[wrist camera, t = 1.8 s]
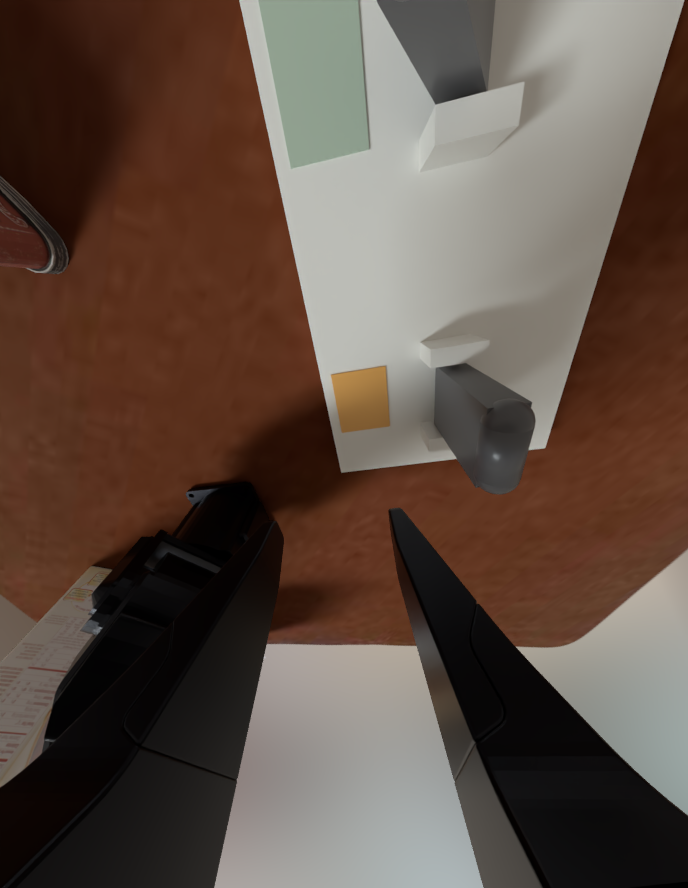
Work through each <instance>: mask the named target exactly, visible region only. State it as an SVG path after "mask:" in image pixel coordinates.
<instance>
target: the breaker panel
mask: <svg viewBox="0 0 688 888" xmlns="http://www.w3.org/2000/svg"><path fill="white" fill-rule="evenodd" d="M239 1H240V5H241V10H242V15H243V19H244V24H245V29H246V33H247V38H248V42H249V47H250V52H251V56H252V61H253V66H254V70H255V75H256V80H257V84H258V89H259V93H260V98H261V103H262V107H263V112H264V117H265V121H266V126H267V131H268V135H269V140H270V144H271V149H272V154H273V158H274V163H275V168H276V172H277V177H278V182H279V186H280V191H281V196H282V200H283V205H284V209H285V214H286V219H287V223H288V228H289V233H290V237H291V242H292V247H293V251H294V256H295V260H296V265H297V270H298V274H299V279H300V284H301V288H302V293H303V298H304V302H305V307H306V312H307V316H308V321H309V325H310V330H311V335H312V339H313V344H314V349H315V353H316V358H317V363H318V367H319V372H320V376H321V381H322V386H323V390H324V395H325V400H326V404H327V409H328V414H329V418H330V423H331V427H332V432H333V437H334V441H335V446H336V451H337V455H338V460H339V465H340V469H341V473H343V472H352V471H360V470H368V469H376V468H385V467H393V466H401V465H410V464H418V463H426V462H434V461H443V460H451V459H457V458H456V457H455V455H454V454H453V452H452V451H451V449H450V448H449V446H448V445H447V443H446V442H445V440H444V438H443V437H442V435H441V434H440V432H439V431H438V429H437V428H436V426H435V425H434V407H435V373H436V368H437V367H444V366H450V365H456V364H463V363H467V364H468V365H470V366H472V367H474V368H475V369H477V370H479V371H480V372H482V373H484V374H485V375H487V376H489V377H490V378H492V379H494V380H496V381H497V382H499V383H501V384H502V385H504V386H506V387H507V388H509V389H511V390H512V391H514V392H516V393H518V394H519V395H521V396H523V397H524V398H526V399H528V400H529V401H531V402H532V406H531V409H532V410H533V412H534V414H535V419H536V423H535V428H534V431H533V435H532V439H531V443H530V446H529V450H533V449H542V448H545V447H546V444H547V441H548V437H549V434H550V431H551V428H552V425H553V421H554V418H555V415H556V412H557V408H558V405H559V402H560V399H561V396H562V392H563V389H564V386H565V383H566V380H567V376H568V373H569V370H570V367H571V363H572V360H573V357H574V354H575V351H576V347H577V344H578V341H579V338H580V335H581V331H582V328H583V325H584V322H585V318H586V315H587V312H588V309H589V306H590V302H591V299H592V296H593V293H594V290H595V286H596V283H597V280H598V277H599V273H600V270H601V267H602V264H603V261H604V257H605V254H606V251H607V248H608V245H609V241H610V238H611V235H612V232H613V228H614V225H615V222H616V219H617V216H618V212H619V209H620V206H621V203H622V199H623V196H624V193H625V190H626V187H627V183H628V180H629V177H630V174H631V171H632V167H633V164H634V161H635V158H636V154H637V151H638V148H639V145H640V142H641V138H642V135H643V132H644V129H645V126H646V122H647V119H648V116H649V113H650V109H651V106H652V103H653V100H654V97H655V93H656V90H657V87H658V84H659V81H660V77H661V74H662V71H663V68H664V64H665V61H666V58H667V55H668V52H669V48H670V45H671V42H672V39H673V36H674V32H675V29H676V26H677V23H678V19H679V16H680V13H681V10H682V7H683V3H684V0H239Z"/></svg>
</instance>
